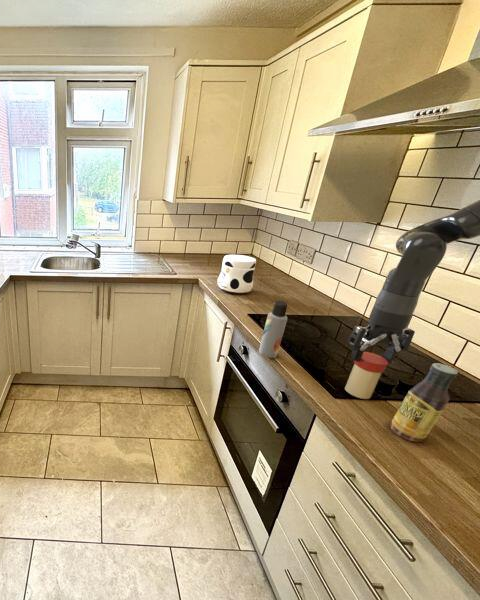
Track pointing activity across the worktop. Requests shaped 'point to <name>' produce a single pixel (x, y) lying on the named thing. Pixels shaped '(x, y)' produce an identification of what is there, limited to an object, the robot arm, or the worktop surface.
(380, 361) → the jar lid
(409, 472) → the worktop surface
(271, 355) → the lotion bottle
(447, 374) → the sauce bottle
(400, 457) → the worktop surface
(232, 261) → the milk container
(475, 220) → the robot arm
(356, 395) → the jar
